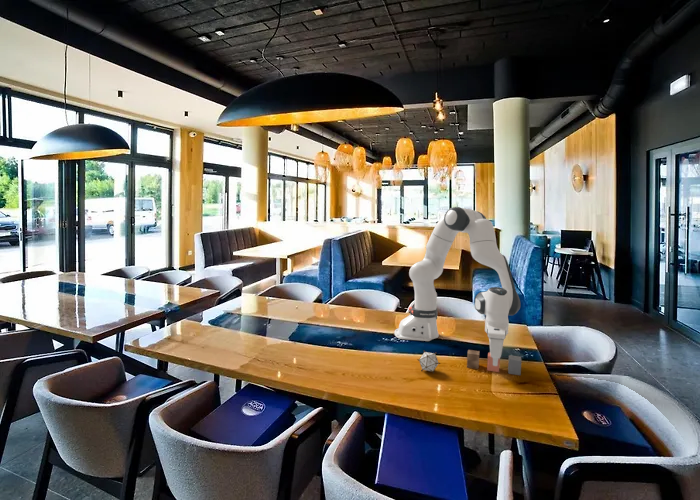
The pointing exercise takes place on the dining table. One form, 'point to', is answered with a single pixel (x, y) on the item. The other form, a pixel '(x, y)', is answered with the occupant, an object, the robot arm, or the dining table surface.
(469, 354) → the walnut block
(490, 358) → the red block
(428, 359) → the game die
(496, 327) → the robot arm
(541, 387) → the dining table surface
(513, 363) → the grey block
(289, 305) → the dining table surface
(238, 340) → the dining table surface
